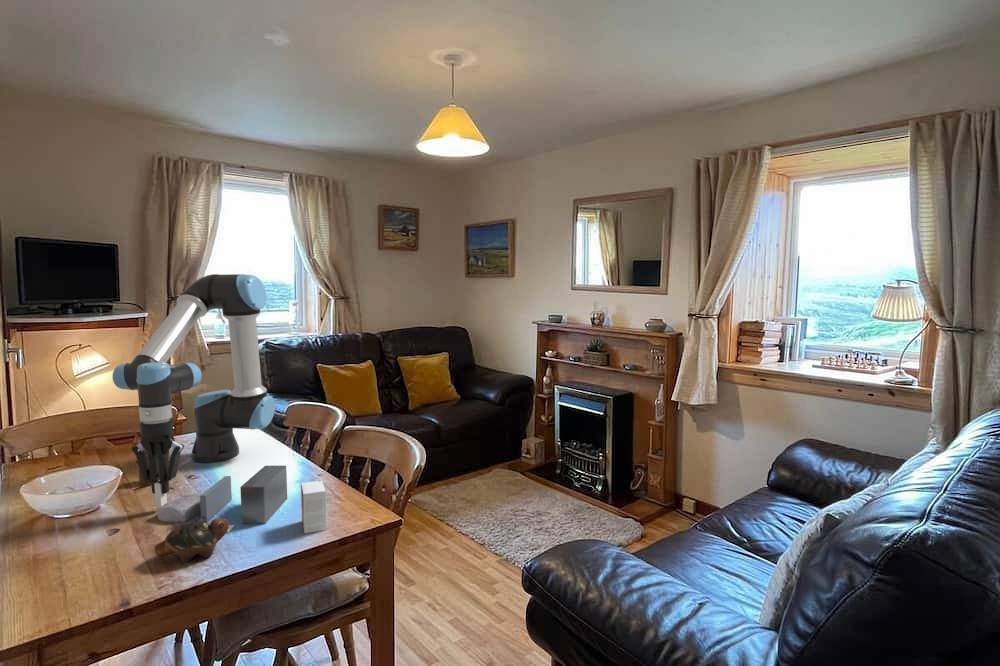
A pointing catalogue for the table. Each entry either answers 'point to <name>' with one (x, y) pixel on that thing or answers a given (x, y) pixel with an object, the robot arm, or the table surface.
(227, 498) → the gauge plate
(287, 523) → the table surface
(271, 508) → the dark gray block
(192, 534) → the decorative turtle
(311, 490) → the small box
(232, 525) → the pale flat strip
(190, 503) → the stone block
